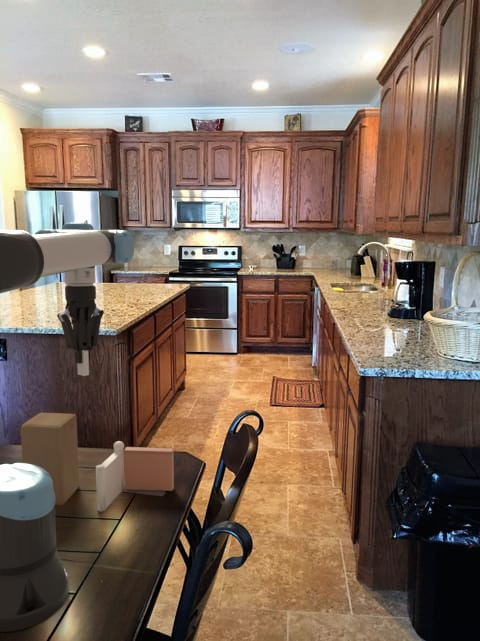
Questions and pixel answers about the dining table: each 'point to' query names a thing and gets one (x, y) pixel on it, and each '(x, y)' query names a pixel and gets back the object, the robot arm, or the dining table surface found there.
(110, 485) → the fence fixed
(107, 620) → the dining table surface
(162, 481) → the terracotta rectangular slab
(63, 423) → the wooden block
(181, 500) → the dining table surface
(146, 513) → the dining table surface
